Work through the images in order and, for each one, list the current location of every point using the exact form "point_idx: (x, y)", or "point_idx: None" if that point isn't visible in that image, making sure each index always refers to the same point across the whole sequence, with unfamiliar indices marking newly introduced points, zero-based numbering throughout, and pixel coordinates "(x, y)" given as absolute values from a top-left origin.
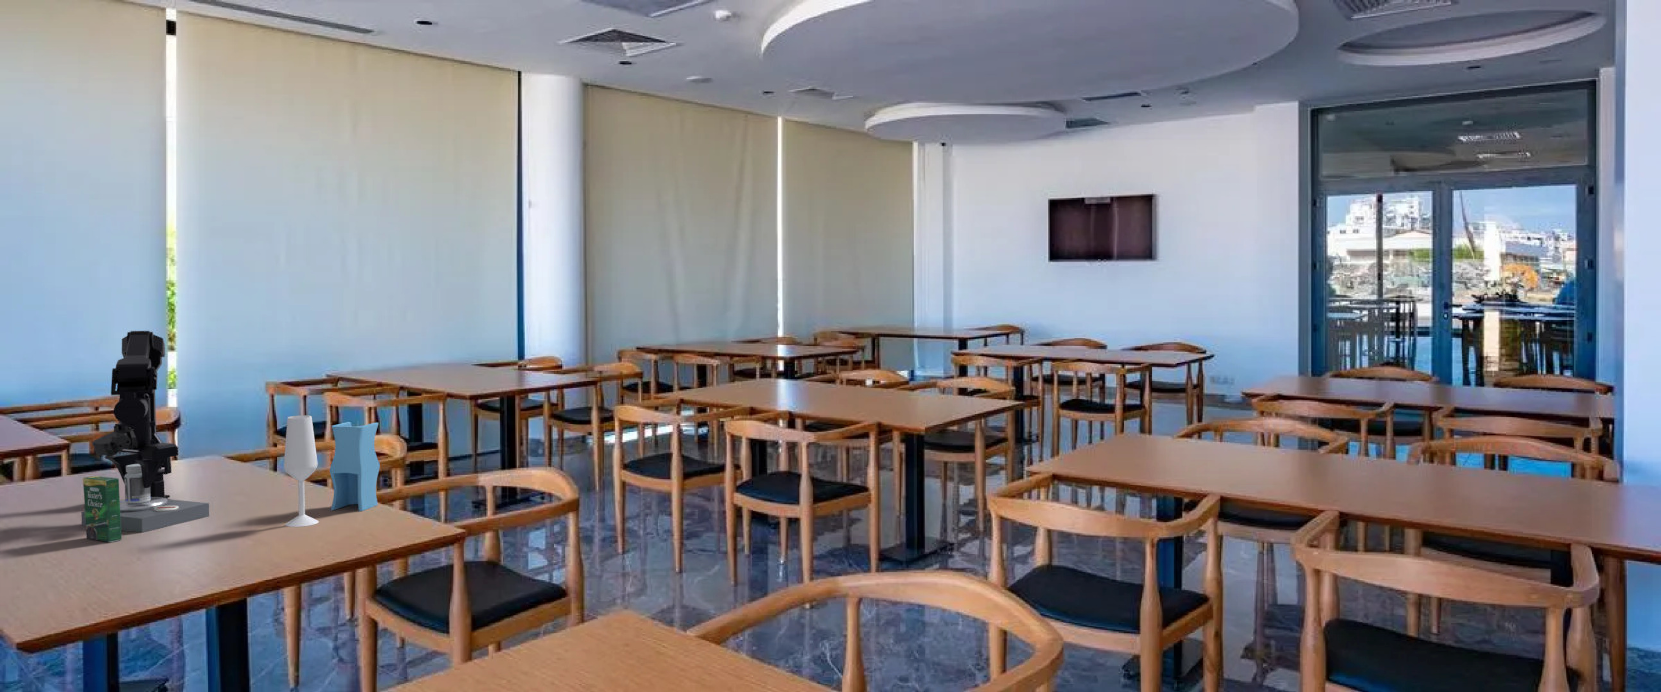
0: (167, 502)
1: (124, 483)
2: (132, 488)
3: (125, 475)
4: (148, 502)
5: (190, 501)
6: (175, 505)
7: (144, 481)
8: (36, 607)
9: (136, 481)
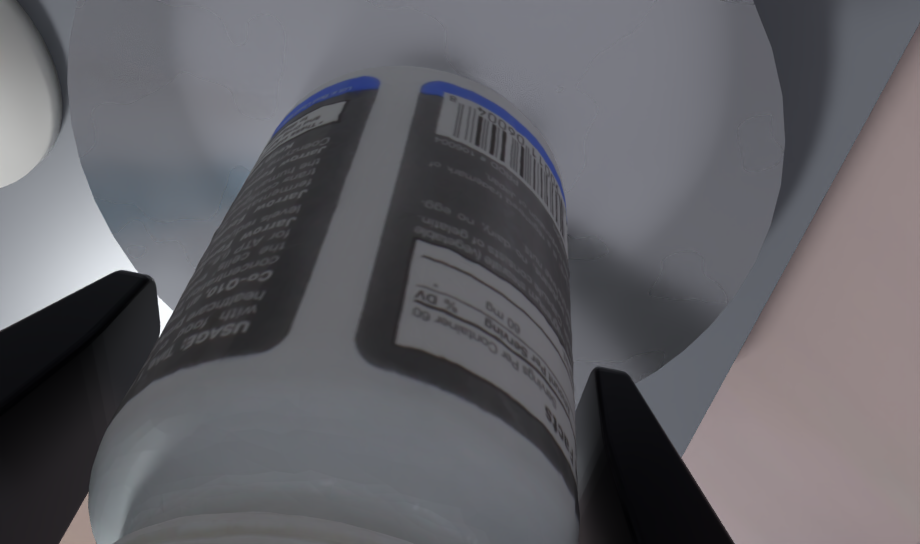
0: None
1: (640, 401)
2: (288, 200)
3: (445, 449)
4: None
5: None
6: (67, 253)
7: (20, 332)
8: None
9: (176, 319)
